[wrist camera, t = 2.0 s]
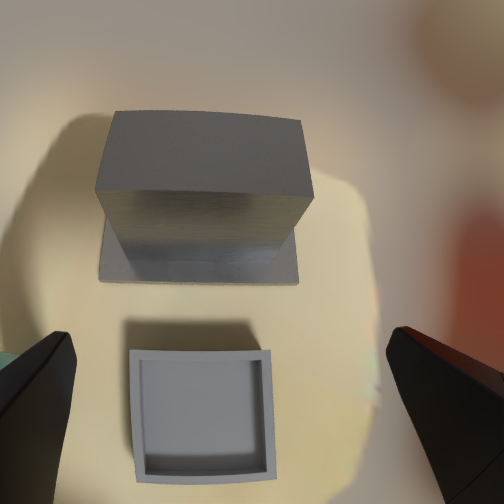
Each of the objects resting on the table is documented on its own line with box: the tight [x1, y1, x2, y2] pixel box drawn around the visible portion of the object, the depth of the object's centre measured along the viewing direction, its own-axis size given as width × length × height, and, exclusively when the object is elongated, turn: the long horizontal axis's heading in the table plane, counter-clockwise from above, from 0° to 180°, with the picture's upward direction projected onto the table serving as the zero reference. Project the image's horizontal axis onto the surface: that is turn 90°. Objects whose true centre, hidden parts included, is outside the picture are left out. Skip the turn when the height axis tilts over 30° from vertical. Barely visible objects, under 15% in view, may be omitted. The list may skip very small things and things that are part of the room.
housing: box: [95, 110, 314, 285], centre depth 19 cm, size 8×14×10 cm, turn 93°
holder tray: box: [129, 349, 277, 485], centre depth 18 cm, size 9×9×2 cm
